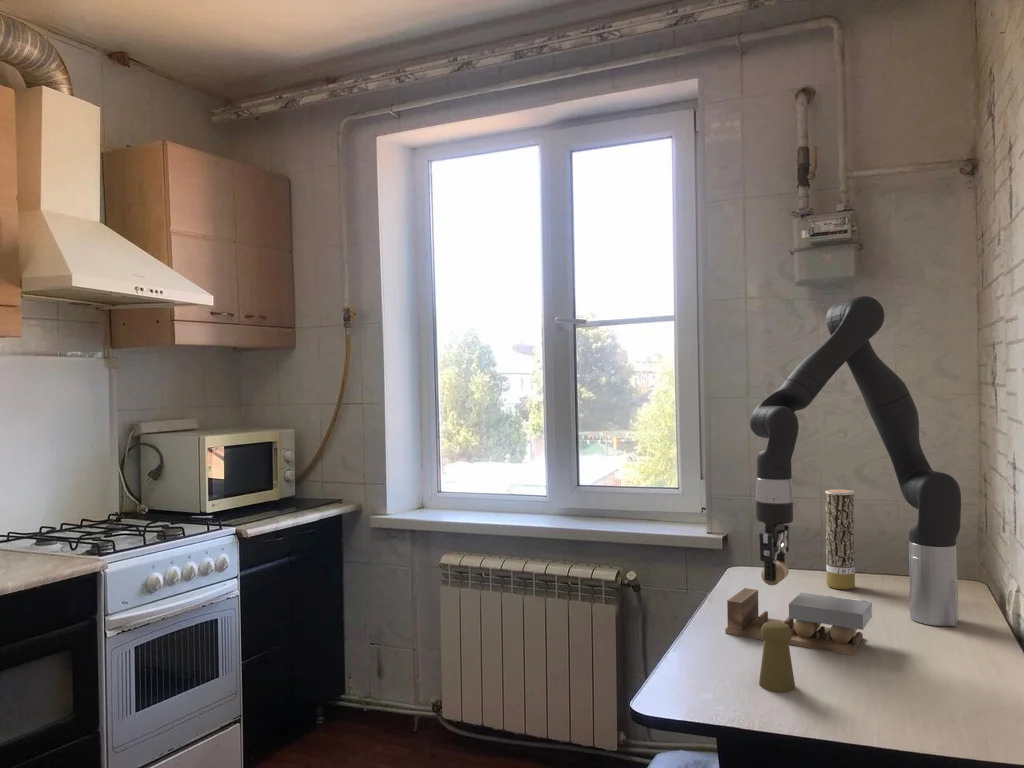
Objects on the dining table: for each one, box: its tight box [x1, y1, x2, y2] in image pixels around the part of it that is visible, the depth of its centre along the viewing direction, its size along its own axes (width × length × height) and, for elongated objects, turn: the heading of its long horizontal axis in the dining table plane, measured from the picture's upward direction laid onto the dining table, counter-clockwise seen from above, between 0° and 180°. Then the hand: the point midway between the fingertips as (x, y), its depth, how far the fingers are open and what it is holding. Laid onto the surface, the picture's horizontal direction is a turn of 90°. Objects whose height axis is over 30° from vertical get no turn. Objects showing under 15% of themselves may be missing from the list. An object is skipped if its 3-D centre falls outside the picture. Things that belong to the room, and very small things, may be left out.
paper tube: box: [824, 488, 856, 591], centre depth 198 cm, size 7×7×25 cm
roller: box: [760, 560, 790, 586], centre depth 163 cm, size 4×6×4 cm, turn 146°
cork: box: [758, 621, 796, 693], centre depth 134 cm, size 6×6×11 cm
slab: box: [788, 592, 873, 631], centre depth 156 cm, size 14×10×3 cm
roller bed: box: [724, 587, 864, 656], centre depth 161 cm, size 25×12×7 cm, turn 56°
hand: (775, 577), depth 163 cm, fingers closed on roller, 6 cm apart
